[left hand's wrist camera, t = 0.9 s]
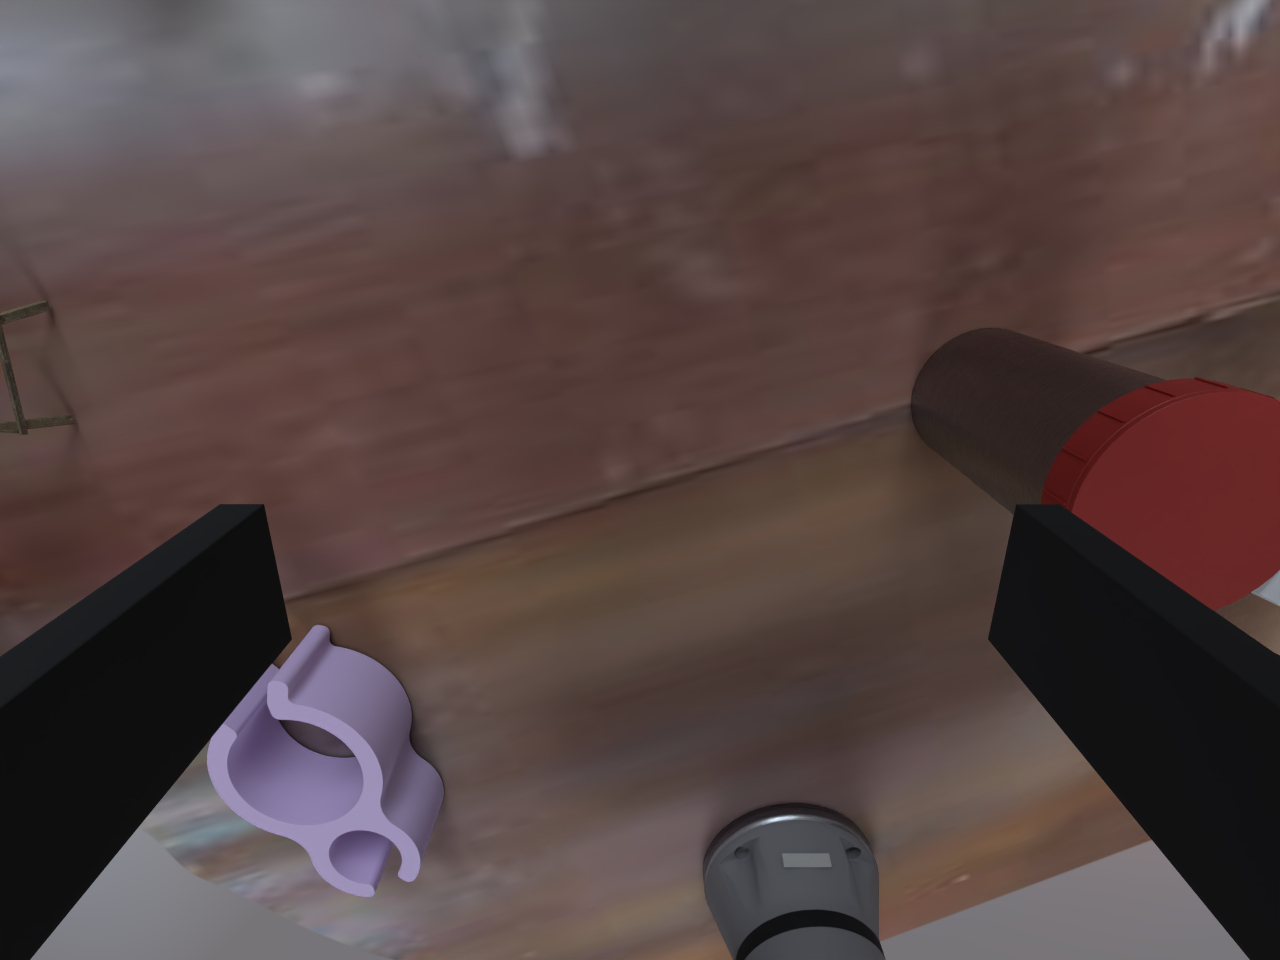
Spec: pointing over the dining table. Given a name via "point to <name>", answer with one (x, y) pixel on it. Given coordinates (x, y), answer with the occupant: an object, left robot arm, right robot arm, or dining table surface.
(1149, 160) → the dining table surface
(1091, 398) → the jar
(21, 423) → the dark tall lattice tower
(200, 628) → the left robot arm
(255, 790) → the clip
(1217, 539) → the lid
